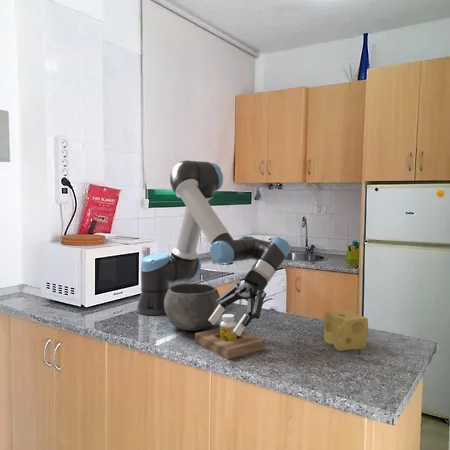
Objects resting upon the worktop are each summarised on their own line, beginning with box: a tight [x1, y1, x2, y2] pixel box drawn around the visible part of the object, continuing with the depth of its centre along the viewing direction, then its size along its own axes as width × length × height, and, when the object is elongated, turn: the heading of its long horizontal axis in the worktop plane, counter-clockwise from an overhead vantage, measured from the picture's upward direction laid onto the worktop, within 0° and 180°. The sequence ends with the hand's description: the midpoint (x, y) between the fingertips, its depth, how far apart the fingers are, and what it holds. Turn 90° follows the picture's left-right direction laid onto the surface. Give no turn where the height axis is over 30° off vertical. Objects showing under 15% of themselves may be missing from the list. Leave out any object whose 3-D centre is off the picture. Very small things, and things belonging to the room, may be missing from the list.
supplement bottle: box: [219, 313, 238, 342], centre depth 136 cm, size 5×5×10 cm
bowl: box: [164, 283, 221, 332], centre depth 154 cm, size 20×20×15 cm
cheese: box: [323, 310, 369, 352], centre depth 138 cm, size 10×11×10 cm
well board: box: [194, 327, 264, 360], centre depth 137 cm, size 18×14×3 cm
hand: (223, 328), depth 135 cm, fingers open, 13 cm apart
